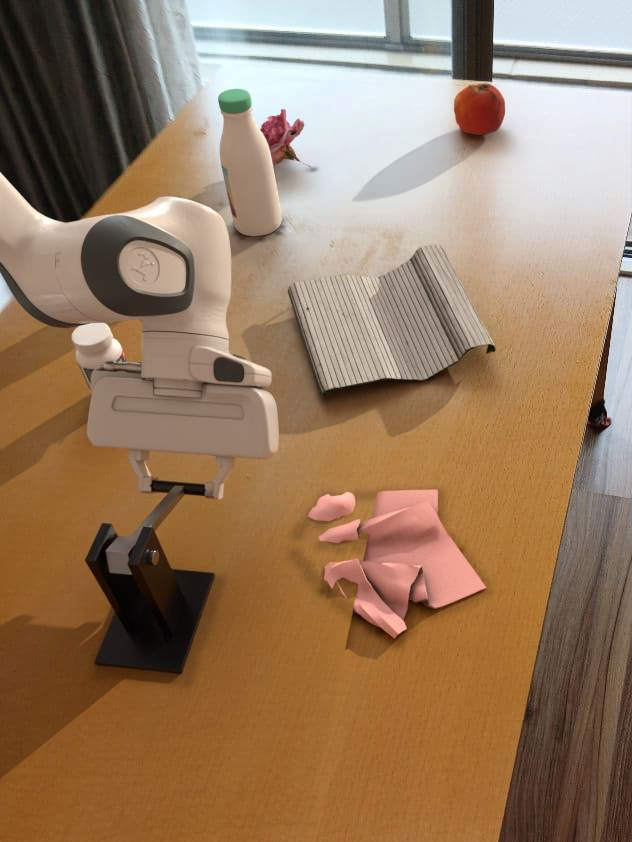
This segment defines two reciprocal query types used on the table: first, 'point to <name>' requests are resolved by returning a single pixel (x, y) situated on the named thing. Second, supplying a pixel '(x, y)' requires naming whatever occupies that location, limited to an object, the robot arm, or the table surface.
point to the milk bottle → (247, 167)
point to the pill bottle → (95, 348)
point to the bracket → (148, 605)
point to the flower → (281, 137)
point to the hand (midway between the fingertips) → (181, 495)
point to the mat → (387, 323)
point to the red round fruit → (479, 109)
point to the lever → (150, 521)
